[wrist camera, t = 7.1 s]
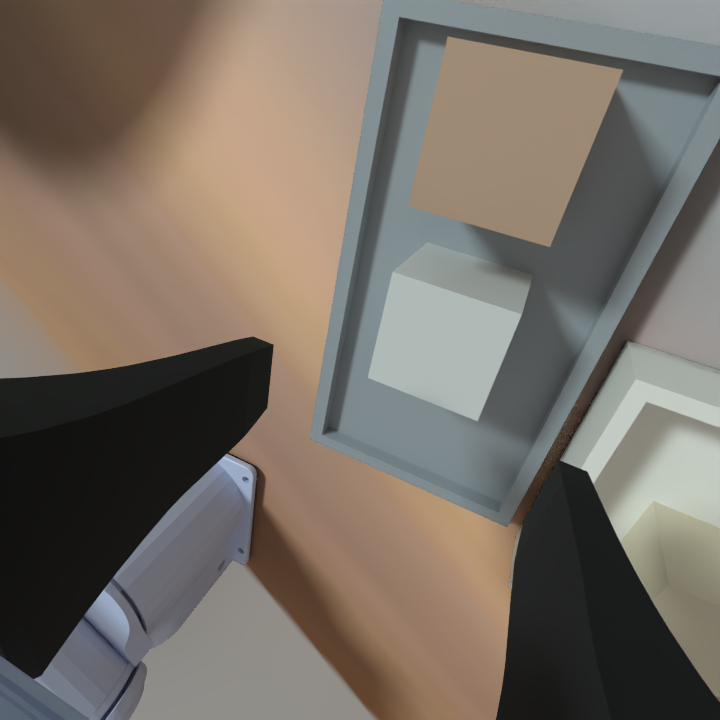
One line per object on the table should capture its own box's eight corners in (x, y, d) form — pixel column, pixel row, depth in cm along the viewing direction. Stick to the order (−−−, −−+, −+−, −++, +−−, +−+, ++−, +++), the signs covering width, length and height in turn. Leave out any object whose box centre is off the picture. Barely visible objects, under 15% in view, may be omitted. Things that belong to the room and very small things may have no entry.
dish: (773, 652, 20) (800, 727, 17) (515, 536, 22) (507, 587, 20) (1016, 466, 14) (1109, 542, 11) (627, 340, 17) (635, 379, 14)
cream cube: (702, 604, 20) (727, 702, 16) (605, 560, 20) (610, 644, 17) (764, 546, 17) (807, 645, 14) (652, 500, 18) (668, 583, 15)
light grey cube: (495, 367, 18) (477, 421, 15) (402, 333, 19) (367, 377, 16) (533, 275, 16) (522, 314, 13) (427, 242, 17) (392, 271, 14)
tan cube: (555, 219, 15) (549, 247, 12) (442, 187, 16) (408, 205, 13) (612, 81, 13) (623, 69, 10) (477, 54, 14) (447, 36, 11)
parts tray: (510, 508, 22) (506, 527, 21) (320, 426, 24) (309, 438, 23) (751, 58, 12) (765, 53, 11) (398, -3, 15) (385, -12, 14)
